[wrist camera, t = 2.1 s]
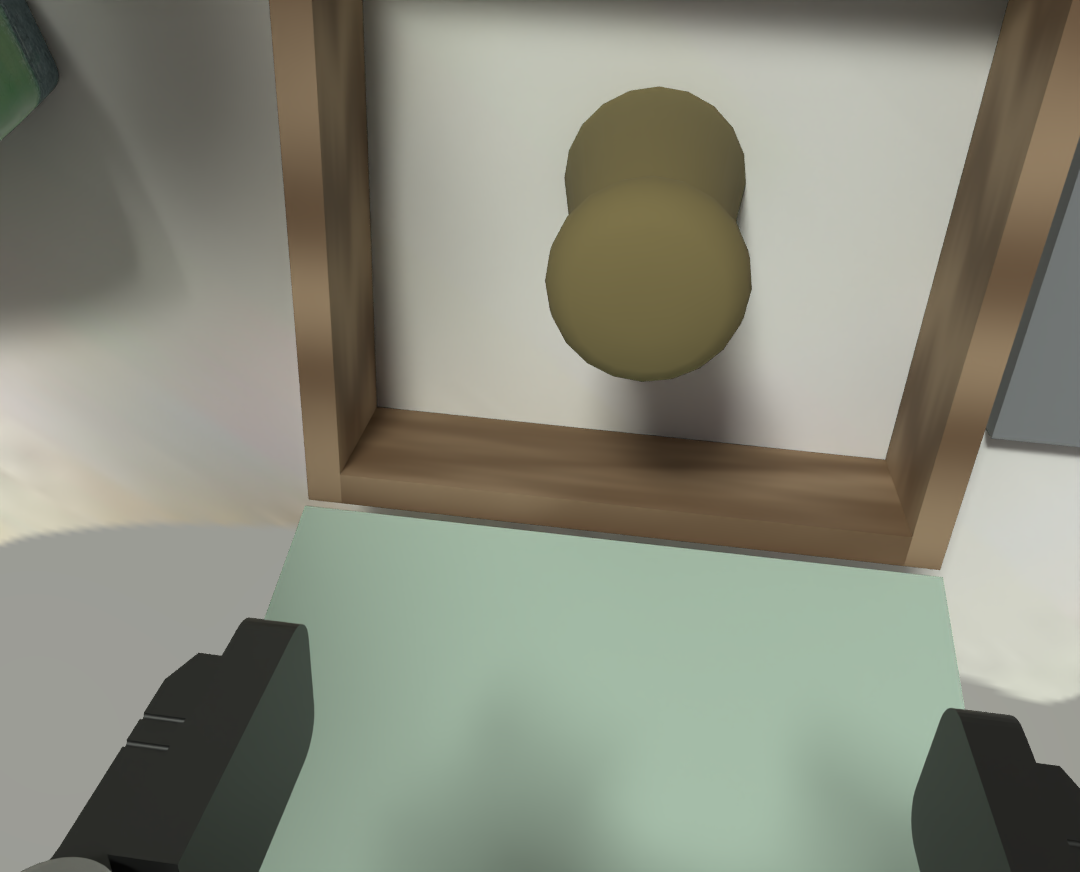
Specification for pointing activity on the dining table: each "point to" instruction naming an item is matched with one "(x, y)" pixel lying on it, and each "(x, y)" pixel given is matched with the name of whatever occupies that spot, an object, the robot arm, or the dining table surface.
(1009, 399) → the mat
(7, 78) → the planter
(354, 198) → the cold frame
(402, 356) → the dining table surface
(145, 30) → the dining table surface
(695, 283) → the cork
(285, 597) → the lid
